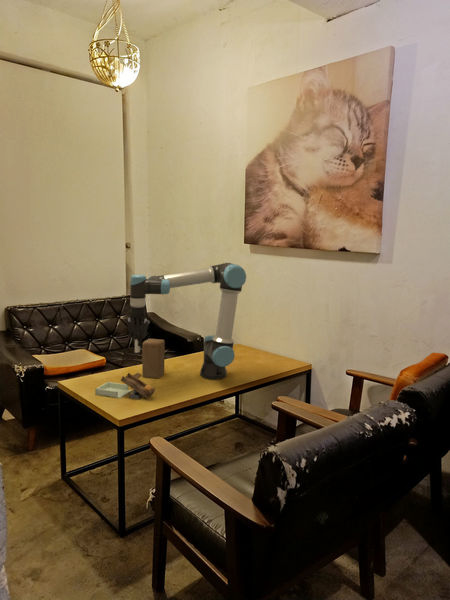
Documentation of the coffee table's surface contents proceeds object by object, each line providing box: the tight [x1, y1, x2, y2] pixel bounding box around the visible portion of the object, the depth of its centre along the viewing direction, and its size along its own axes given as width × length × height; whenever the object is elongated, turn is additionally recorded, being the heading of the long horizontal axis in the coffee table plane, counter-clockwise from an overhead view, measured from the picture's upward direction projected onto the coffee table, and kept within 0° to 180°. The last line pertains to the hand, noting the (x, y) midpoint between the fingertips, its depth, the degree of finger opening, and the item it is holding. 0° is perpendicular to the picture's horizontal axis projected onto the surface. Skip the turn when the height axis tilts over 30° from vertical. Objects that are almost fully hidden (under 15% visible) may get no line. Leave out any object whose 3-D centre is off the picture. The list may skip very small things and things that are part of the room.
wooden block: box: [141, 338, 166, 379], centre depth 254 cm, size 10×10×20 cm
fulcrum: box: [128, 389, 144, 400], centre depth 223 cm, size 5×7×4 cm
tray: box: [95, 381, 133, 399], centre depth 227 cm, size 14×11×3 cm
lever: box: [120, 372, 156, 399], centre depth 226 cm, size 16×14×4 cm
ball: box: [144, 384, 153, 392], centre depth 221 cm, size 4×4×4 cm
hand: (137, 351), depth 230 cm, fingers closed
